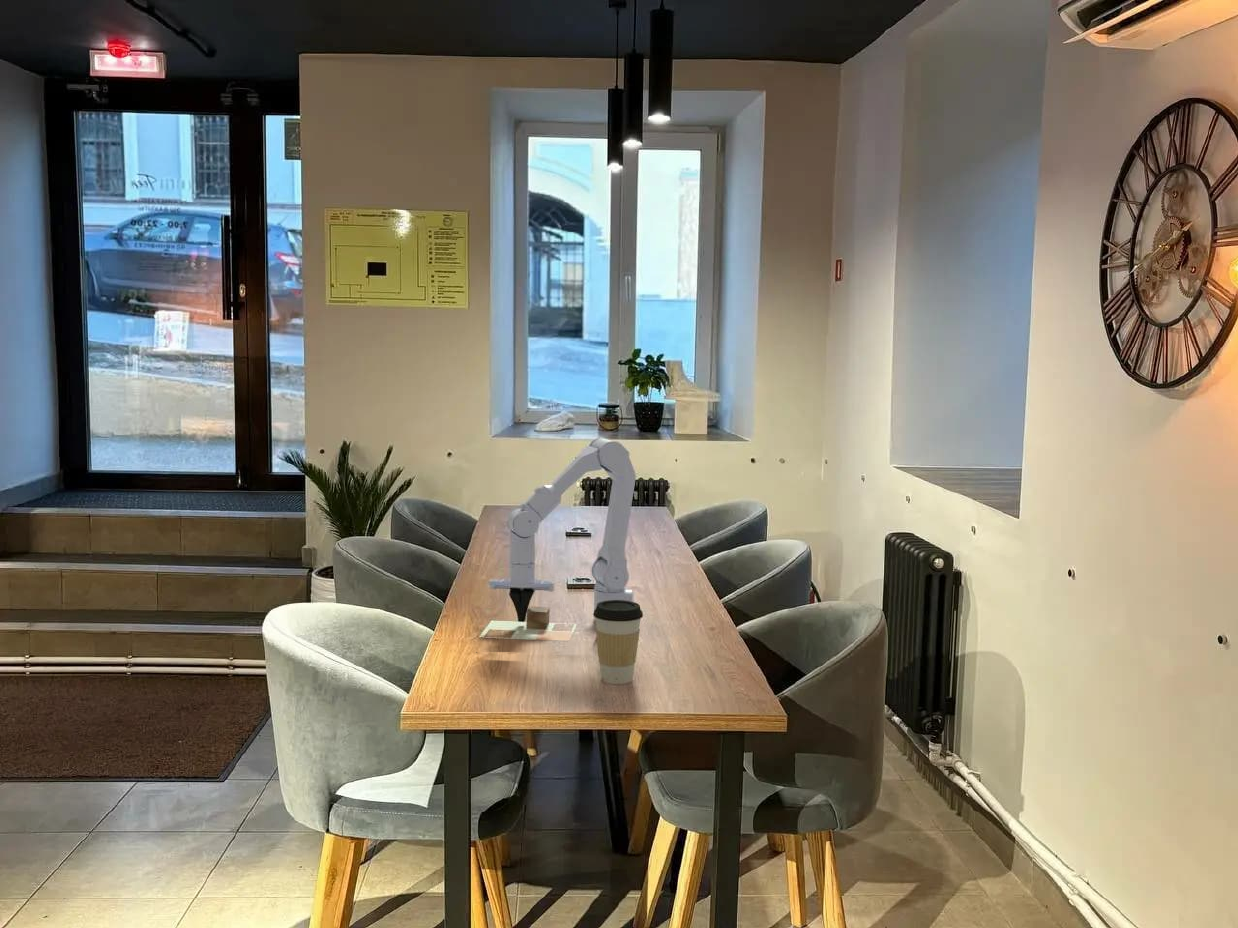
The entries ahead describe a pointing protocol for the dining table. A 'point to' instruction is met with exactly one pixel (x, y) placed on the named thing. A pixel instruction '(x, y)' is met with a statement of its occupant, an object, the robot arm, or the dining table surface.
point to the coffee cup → (617, 639)
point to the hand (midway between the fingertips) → (521, 620)
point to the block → (537, 617)
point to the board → (529, 631)
